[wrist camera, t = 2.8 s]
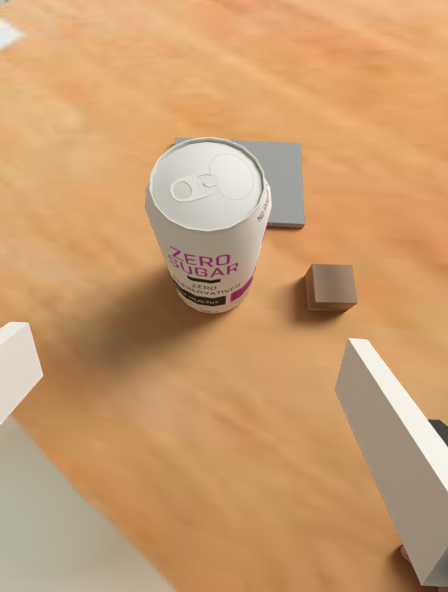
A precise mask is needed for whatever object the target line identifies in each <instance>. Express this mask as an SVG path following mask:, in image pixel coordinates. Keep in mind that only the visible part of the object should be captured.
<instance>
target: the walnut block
mask: <svg viewBox="0 0 448 592" xmlns="http://www.w3.org/2000/svg"><path fill="white" fill-rule="evenodd" d="M305 287H306V300H307V311H337V312H346V311H347V310H349V309H350V308H351V307H353V306H354V305H355V304H357V296H356V289H355V282H354V275H353V268H352V265H323V264H312V265H311V267H310V268H309V270H308V271H307V273H306V274H305Z"/></svg>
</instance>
